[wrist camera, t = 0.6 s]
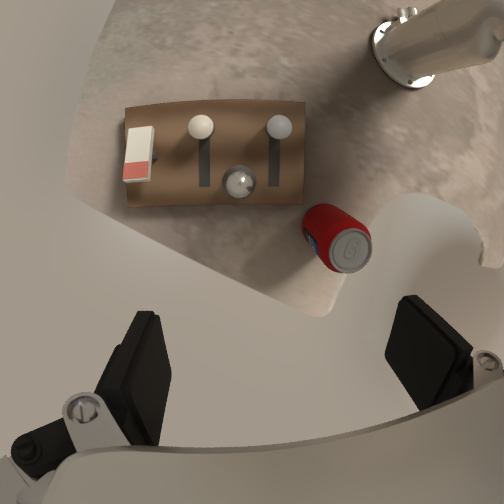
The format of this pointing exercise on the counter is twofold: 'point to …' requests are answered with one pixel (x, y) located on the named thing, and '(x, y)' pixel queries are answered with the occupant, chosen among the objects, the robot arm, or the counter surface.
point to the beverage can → (337, 238)
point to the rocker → (138, 154)
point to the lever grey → (278, 127)
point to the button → (239, 184)
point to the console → (219, 153)
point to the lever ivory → (201, 127)
